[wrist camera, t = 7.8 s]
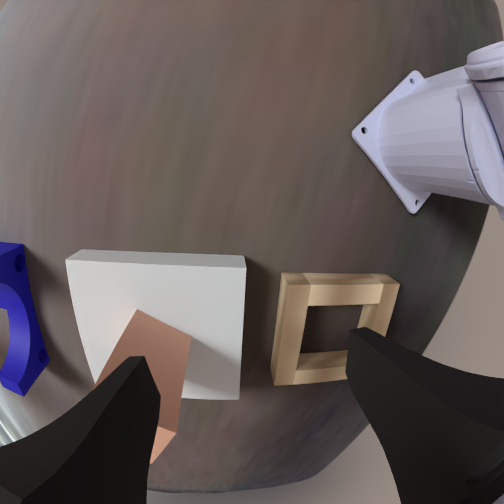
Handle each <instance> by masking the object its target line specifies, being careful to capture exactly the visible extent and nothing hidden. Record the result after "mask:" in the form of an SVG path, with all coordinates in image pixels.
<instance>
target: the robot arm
mask: <svg viewBox="0 0 504 504" xmlns="http://www.w3.org/2000/svg"><path fill="white" fill-rule="evenodd" d="M410 80H411V81H412V83H411V82H410ZM361 128H364V130H365V134H363V133H362V131H361ZM352 138H353V139H354V141H355V142H356V143H357V144H358V145H359V146H360V148H361V149H362V150H363V151H364V152H365V154H366V155H367V156H368V157H369V159H370V160H371V161H372V162H373V164H374V165H375V166H376V167H377V169H378V170H379V171H380V173H381V174H382V175H383V176H384V178H385V179H386V180H387V182H388V183H389V185H390V186H391V187H392V189H393V190H394V191H395V193H396V194H397V196H398V197H399V199H400V200H401V201H402V203H403V204H404V206H405V207H406V209H407V210H408V212H409V213H413V214H414V213H416V212H417V211H418V210H419V209H420V207H421V206H422V205H423V203H424V202H425V201H426V200H427V198H428V197H429V196H430V194H431V193H436V194H442V195H447V196H452V197H457V198H462V199H467V200H472V201H476V202H481V203H485V204H489V205H494V206H496V207H497V209H498V211H499V214H500V218H501V219H503V220H504V41H501V42H498V43H495V44H492V45H489V46H486V47H484V48H481V49H478V50H476V51H474V52H472V53H470V54H468V57H467V64H466V65H465V66H463V67H459V68H456V69H453V70H450V71H447V72H444V73H441V74H438V75H435V76H432V77H429V78H426V79H424V78H423V77H422V75H421V74H420V73H419V72H418V71H413V72H411V73H410V74H409V75H408V76H407V77H406V78H405V79H404V80H403V81H402V82H401V83H400V84H399V85H398V86H397V87H396V88H395V89H394V90H393V91H392V92H391V93H390V94H389V95H388V96H387V97H386V98H385V99H384V100H383V101H382V102H381V103H380V104H379V105H378V106H377V107H376V108H375V109H374V110H373V111H372V112H371V113H370V114H369V115H368V116H367V117H366V118H365V119H364V120H363V121H362V122H361V123H360V124H359V125H358V126H357V127H356V128H355V129H354V130H353V131H352ZM416 200H417V204H415V202H416ZM345 374H346V376H347V379H348V382H349V384H350V387H351V389H352V392H353V394H354V396H355V398H356V400H357V401H358V403H359V405H360V407H361V409H362V410H363V412H364V414H365V416H366V417H367V419H368V421H369V423H370V424H371V426H372V428H373V430H374V431H375V433H376V435H377V437H378V439H379V441H380V443H381V445H382V447H383V449H384V452H385V454H386V457H387V460H388V462H389V465H390V468H391V471H392V474H393V477H394V480H395V483H396V486H397V490H398V493H399V497H400V500H401V504H504V379H502V378H495V377H488V376H483V375H478V374H472V373H469V372H465V371H462V370H458V369H455V368H452V367H449V366H446V365H443V364H441V363H438V362H436V361H433V360H431V359H428V358H426V357H424V356H422V355H420V354H418V353H416V352H413V351H411V350H409V349H407V348H405V347H404V346H402V345H400V344H398V343H396V342H394V341H392V340H390V339H388V338H387V337H385V336H383V335H381V334H379V333H377V332H375V331H373V330H371V329H369V328H367V327H361V328H357V329H352V330H350V333H349V344H348V353H347V362H346V370H345ZM160 402H161V395H160V393H159V391H158V388H157V386H156V384H155V381H154V379H153V376H152V374H151V371H150V369H149V366H148V364H147V361H146V358H145V356H129V357H128V358H127V359H125V360H124V361H123V362H122V363H121V364H120V365H119V366H118V367H117V368H116V369H115V370H114V371H113V372H112V373H110V374H109V375H108V376H107V377H106V378H105V379H104V380H103V381H102V382H101V383H100V384H99V385H98V386H97V387H96V388H95V389H94V390H92V391H91V392H90V393H89V394H88V395H87V396H86V397H84V398H83V399H82V400H81V401H80V402H79V403H77V404H76V405H75V406H74V407H73V408H71V409H70V410H69V411H67V412H66V413H65V414H63V415H62V416H61V417H59V418H58V419H56V420H55V421H53V422H52V423H50V424H49V425H47V426H45V427H43V428H42V429H40V430H38V431H36V432H34V433H32V434H31V435H29V436H27V437H25V438H22V439H20V440H18V441H15V442H13V443H10V444H7V445H4V446H1V447H0V504H146V496H147V477H148V469H149V464H150V459H151V454H152V450H153V445H154V440H155V436H156V431H157V427H158V422H159V414H160Z"/></svg>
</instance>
